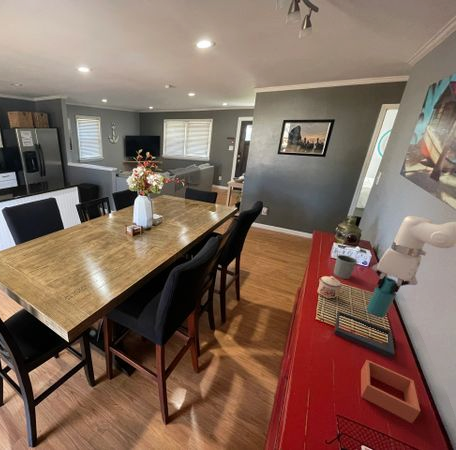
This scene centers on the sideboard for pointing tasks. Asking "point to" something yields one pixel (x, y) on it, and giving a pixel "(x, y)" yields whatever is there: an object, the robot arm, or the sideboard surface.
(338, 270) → the grey cup
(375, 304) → the bottle
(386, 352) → the dark gray rectangular frame
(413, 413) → the bin
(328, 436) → the sideboard surface
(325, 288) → the teacup with lid
